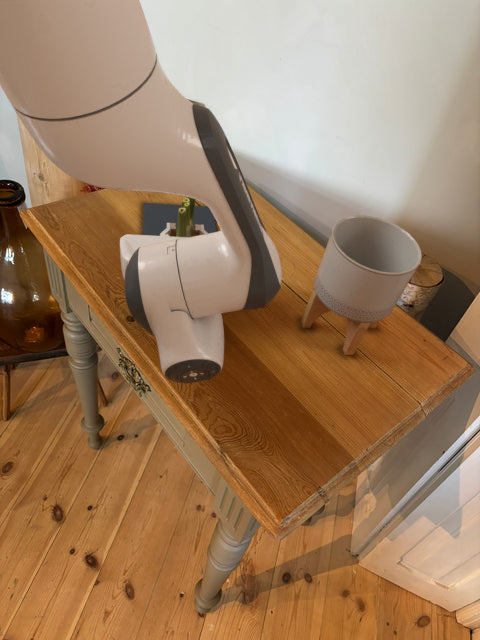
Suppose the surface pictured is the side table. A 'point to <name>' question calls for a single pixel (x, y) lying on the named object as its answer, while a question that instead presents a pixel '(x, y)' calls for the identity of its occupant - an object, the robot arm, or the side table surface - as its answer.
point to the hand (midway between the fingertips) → (184, 226)
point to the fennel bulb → (186, 218)
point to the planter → (362, 274)
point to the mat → (173, 218)
